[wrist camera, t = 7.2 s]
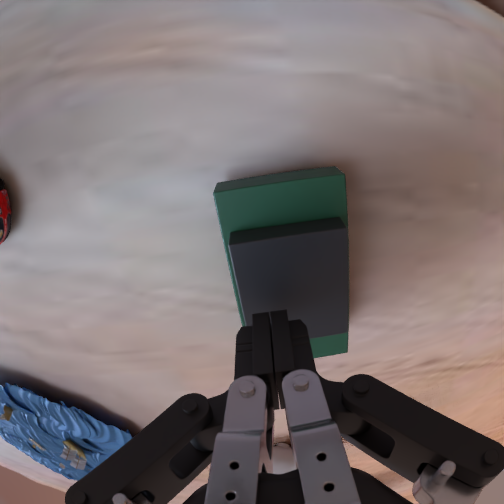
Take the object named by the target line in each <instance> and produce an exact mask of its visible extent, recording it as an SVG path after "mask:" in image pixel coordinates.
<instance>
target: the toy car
mask: <svg viewBox="0 0 504 504" xmlns="http://www.w3.org/2000/svg"><path fill="white" fill-rule="evenodd" d="M213 196H214V200H215V205H216V210H217V215H218V219H219V224H220V229H221V233H222V238H223V243H224V247H225V252H226V256H227V261H228V265H229V270H230V274H231V279H232V283H233V288H234V292H235V297H236V301H237V305H238V310H239V314H240V318H241V323H242V327H244V326H252V314H255V313H263V312H269V315H270V311H278V310H285V309H287V315H288V321H290V320H298V319H301V321H302V322H303V323H304V324H305V325H306V326H307V330H308V335H309V339H310V344H311V349H312V353H313V358H318V357H324V356H330V355H336V354H341V353H347V352H348V330H349V239H348V214H347V195H346V180H345V174H344V173H343V172H342V171H340V170H339V169H338V168H337V167H335V166H332V167H323V168H315V169H307V170H299V171H291V172H284V173H277V174H270V175H263V176H256V177H250V178H243V179H237V180H231V181H225V182H219V183H217V185H216V187H215V190H214V192H213ZM270 322H271V316H270Z"/></svg>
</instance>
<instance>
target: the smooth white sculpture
mask: <svg viewBox="0 0 504 504" xmlns="http://www.w3.org/2000/svg"><path fill="white" fill-rule="evenodd" d="M293 470H296V468H295V462H294V457H293V451H292V448H290V446H289V445H288V444H285V443H278V444H277V446H273V473H274V474H284V473H287V472H290V471H293Z"/></svg>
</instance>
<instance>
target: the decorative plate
mask: <svg viewBox="0 0 504 504" xmlns="http://www.w3.org/2000/svg"><path fill="white" fill-rule="evenodd" d="M14 385H15V386H12V385H10V384H8V383H7V382H5V387H2V386H1V384H0V435H1V437H2V438H3V439H4V440H5V441H7V442H8V443H10V444H12V445H13V446H15V447H16V448H17V449H19V450H20V451H22V452H24V453H25V454H26V455H28V456H30V457H31V458H32V459H34V460H35V461H37V462H39V463H40V464H43V465H45V466H46V467H47V468H50V469H51V470H53V471H54V472H57V473H59V474H62V475H63V476H65V477H66V478H68V479H73V480H78V481H79V480H80V479H81V478H83V477H84V476H85V475H87V474H88V473H89V472H91V471H92V470H93V469H94V468H96V467H97V466H98V465H100V464H101V463H102V462H103V461H105V460H106V459H107V458H108V457H110V456H111V455H112V454H113V453H115V452H116V451H117V450H118V449H120V448H121V447H122V446H123V445H125V444H126V443H127V442H128V441H129V440H131V439H132V438H133V437H132V436H131V434H130V432H129V430H128V429H127V430H126V432H124V431H121V430H119V429H118V428H116V427H115V426H112V425H110V426H108V425H106V424H104V423H103V422H101V421H98V420H96V419H94V418H93V417H91V416H90V415H88V414H86V413H85V412H84V411H83V410H79V409H77V408H76V407H74V406H73V407H71V408H68V407H67V406H66V405H65V403H64V402H63V401H60V402H61V403H62V405H63V406H64V407H63V406H62V405H61V404H59V403H54V402H50V401H49V400H47V398H43V397H42V396H39V395H37V394H36V393H34V392H32V391H31V390H30V389H26V388H25V387H23V388H20V387H18V386H17V385H16V384H14ZM13 401H14V402H15V403H17V404H18V405H19V406H18V405H17V404H15V403H14V402H13ZM84 448H85V449H87V448H88V449H90V450H92V451H89V450H85V449H84ZM88 469H90V470H91V471H90V470H88Z"/></svg>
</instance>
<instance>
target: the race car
mask: <svg viewBox="0 0 504 504" xmlns="http://www.w3.org/2000/svg"><path fill="white" fill-rule="evenodd" d="M3 189H4V182H3V180H2V179H1V178H0V244H1V243H2V242H4V241H5V239H6V238H7V236H8V234H9V232H10V228H11V207H10V201H9V198H8V194H7V191H6V189H4V190H3Z"/></svg>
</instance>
